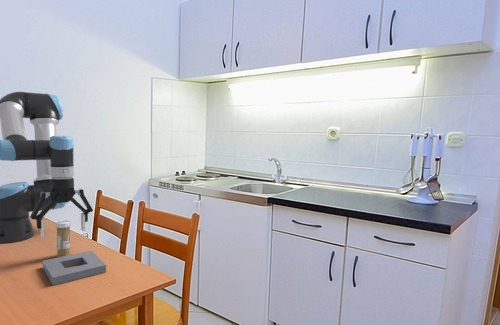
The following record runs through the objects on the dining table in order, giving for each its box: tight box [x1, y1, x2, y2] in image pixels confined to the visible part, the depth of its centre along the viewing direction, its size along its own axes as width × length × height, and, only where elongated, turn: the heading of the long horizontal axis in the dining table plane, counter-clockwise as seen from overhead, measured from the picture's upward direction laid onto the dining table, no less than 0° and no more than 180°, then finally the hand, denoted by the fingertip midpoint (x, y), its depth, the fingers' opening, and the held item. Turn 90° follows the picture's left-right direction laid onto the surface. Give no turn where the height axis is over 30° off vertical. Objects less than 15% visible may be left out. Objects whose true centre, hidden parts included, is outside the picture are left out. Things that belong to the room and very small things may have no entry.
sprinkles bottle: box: [55, 219, 71, 258], centre depth 122 cm, size 5×5×13 cm
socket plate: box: [42, 250, 107, 286], centre depth 112 cm, size 16×16×2 cm
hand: (63, 233), depth 122 cm, fingers open, 13 cm apart
